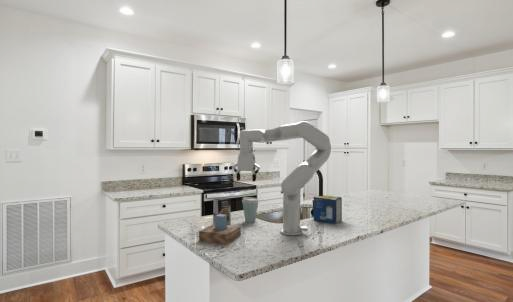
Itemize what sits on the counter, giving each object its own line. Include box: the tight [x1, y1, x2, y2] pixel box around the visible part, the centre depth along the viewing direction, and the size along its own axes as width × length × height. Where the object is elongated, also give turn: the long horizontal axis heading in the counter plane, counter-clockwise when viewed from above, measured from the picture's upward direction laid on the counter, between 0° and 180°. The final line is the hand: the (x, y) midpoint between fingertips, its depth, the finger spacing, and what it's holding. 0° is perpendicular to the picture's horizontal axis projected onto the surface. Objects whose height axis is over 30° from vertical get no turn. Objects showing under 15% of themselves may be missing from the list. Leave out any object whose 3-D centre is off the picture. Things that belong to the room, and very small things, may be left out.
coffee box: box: [212, 197, 232, 225], centre depth 180 cm, size 9×6×16 cm
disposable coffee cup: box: [241, 196, 259, 223], centre depth 188 cm, size 11×11×15 cm
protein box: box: [313, 194, 343, 225], centre depth 191 cm, size 10×15×16 cm
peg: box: [215, 214, 227, 231], centre depth 153 cm, size 4×4×12 cm
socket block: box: [198, 223, 242, 246], centre depth 153 cm, size 16×16×5 cm
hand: (246, 180), depth 169 cm, fingers open, 9 cm apart
